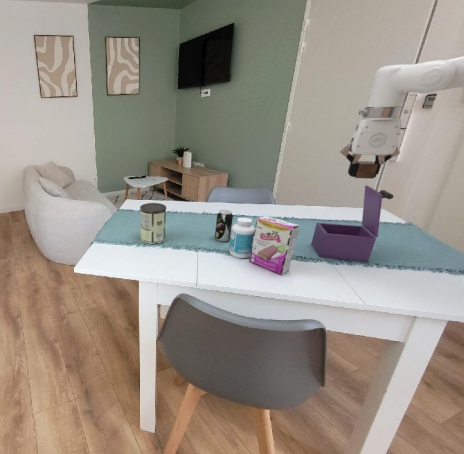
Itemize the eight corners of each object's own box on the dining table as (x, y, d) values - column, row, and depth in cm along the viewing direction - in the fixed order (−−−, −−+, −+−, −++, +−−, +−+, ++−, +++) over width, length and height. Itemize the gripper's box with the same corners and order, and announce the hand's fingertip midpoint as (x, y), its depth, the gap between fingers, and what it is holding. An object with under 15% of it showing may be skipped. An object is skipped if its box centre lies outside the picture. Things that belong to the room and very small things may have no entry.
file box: (319, 257, 101) (325, 234, 97) (311, 244, 110) (316, 222, 106) (367, 262, 96) (376, 238, 93) (355, 248, 105) (362, 225, 102)
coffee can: (148, 231, 127) (149, 201, 122) (169, 237, 121) (171, 205, 115) (135, 240, 120) (134, 208, 115) (156, 246, 114) (157, 213, 108)
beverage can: (229, 243, 113) (233, 214, 109) (213, 241, 116) (216, 213, 111) (230, 237, 118) (233, 209, 113) (215, 235, 121) (218, 208, 116)
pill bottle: (255, 255, 104) (261, 220, 99) (242, 261, 101) (248, 225, 95) (236, 247, 110) (241, 214, 105) (224, 253, 107) (228, 219, 101)
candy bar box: (248, 262, 100) (255, 218, 93) (256, 257, 102) (264, 214, 96) (281, 276, 91) (292, 228, 85) (289, 271, 94) (300, 224, 87)
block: (367, 175, 92) (371, 161, 90) (373, 178, 88) (378, 164, 86) (350, 174, 93) (354, 161, 92) (355, 178, 90) (360, 163, 88)
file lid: (380, 194, 88) (399, 192, 86) (365, 185, 97) (382, 183, 95) (375, 237, 93) (393, 236, 91) (361, 225, 102) (377, 224, 100)
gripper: (350, 115, 83) (333, 178, 90) (427, 113, 77) (402, 180, 85) (341, 114, 89) (325, 172, 97) (411, 112, 84) (389, 174, 91)
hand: (361, 175), depth 91 cm, fingers closed on block, 4 cm apart
